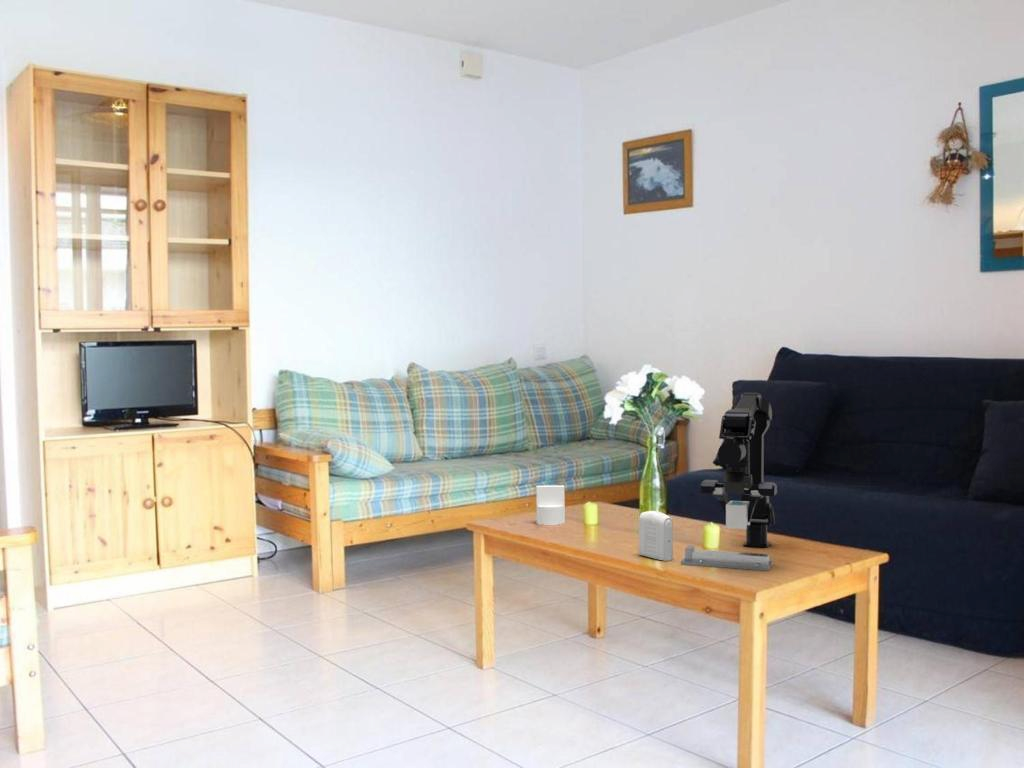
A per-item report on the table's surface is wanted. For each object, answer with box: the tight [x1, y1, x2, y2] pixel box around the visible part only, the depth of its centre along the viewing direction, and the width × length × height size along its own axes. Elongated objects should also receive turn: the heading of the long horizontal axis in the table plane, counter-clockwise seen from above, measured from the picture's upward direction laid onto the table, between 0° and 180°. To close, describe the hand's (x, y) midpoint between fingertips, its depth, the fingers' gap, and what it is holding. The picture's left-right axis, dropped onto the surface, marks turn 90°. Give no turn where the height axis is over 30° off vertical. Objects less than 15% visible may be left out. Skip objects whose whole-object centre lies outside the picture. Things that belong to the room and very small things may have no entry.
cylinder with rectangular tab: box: [535, 484, 566, 525], centre depth 308 cm, size 9×9×12 cm
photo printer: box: [638, 510, 674, 562], centre depth 258 cm, size 10×4×12 cm, turn 37°
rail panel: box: [680, 544, 773, 572], centre depth 249 cm, size 8×22×4 cm, turn 68°
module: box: [725, 500, 750, 530], centre depth 247 cm, size 7×5×7 cm
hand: (738, 521), depth 247 cm, fingers closed on module, 5 cm apart
